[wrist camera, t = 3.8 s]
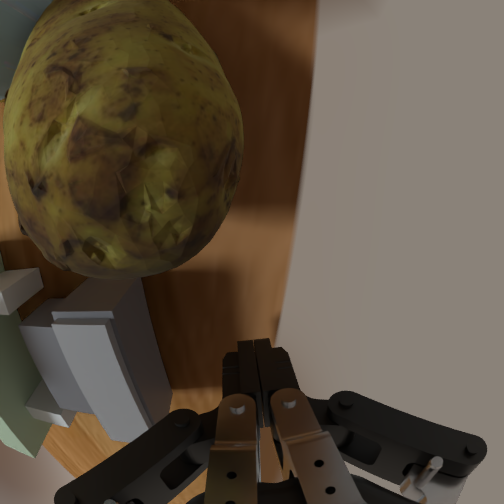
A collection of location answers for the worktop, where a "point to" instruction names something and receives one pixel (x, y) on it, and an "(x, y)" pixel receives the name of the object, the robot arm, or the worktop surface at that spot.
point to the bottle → (15, 35)
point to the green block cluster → (23, 371)
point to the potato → (120, 138)
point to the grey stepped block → (101, 355)
